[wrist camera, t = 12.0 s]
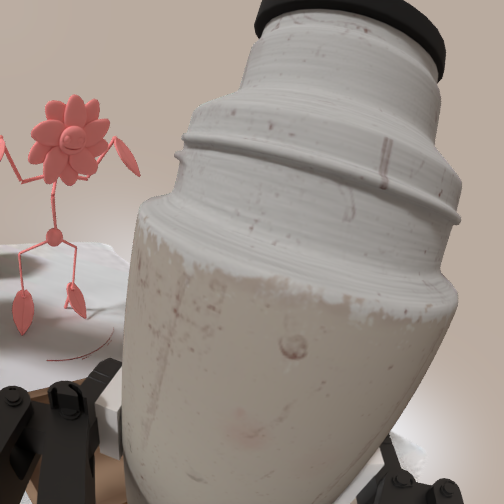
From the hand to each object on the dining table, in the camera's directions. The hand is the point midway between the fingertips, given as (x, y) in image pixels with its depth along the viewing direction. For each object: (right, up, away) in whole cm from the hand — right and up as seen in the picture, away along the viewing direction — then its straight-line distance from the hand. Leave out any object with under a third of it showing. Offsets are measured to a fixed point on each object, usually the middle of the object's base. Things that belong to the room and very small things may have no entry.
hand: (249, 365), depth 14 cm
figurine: (-30, -7, +27) cm, 41 cm away
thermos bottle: (-4, -15, -1) cm, 16 cm away
